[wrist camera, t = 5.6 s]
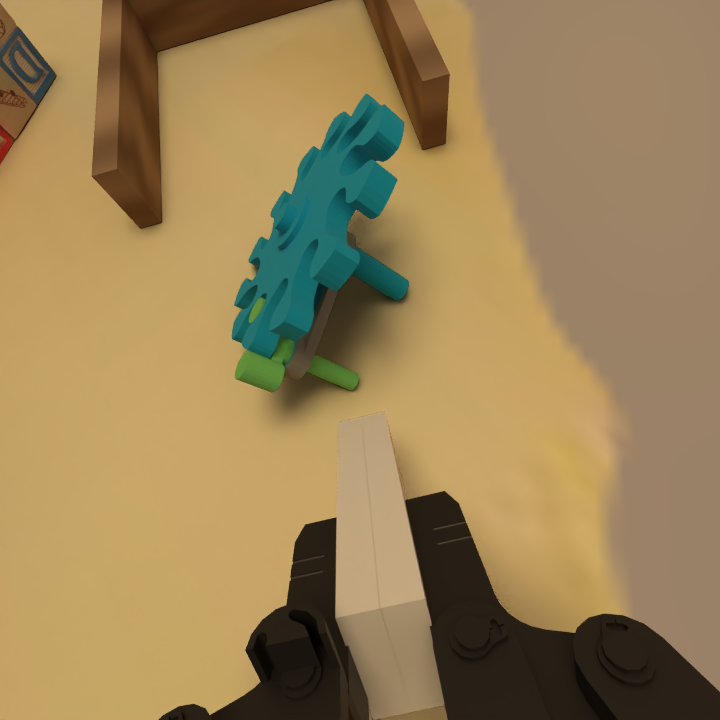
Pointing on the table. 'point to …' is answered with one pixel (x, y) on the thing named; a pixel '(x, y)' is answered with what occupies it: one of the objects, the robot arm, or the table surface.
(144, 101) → the wooden u-shaped enclosure
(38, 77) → the stack of blocks
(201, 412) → the table surface
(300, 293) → the gear
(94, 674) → the table surface
